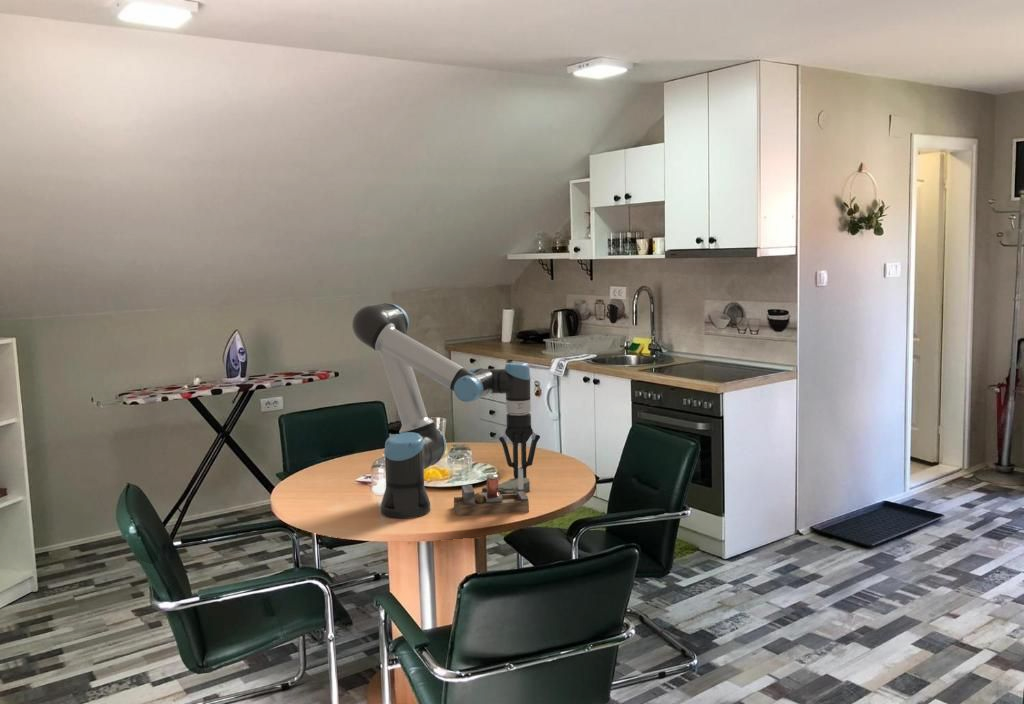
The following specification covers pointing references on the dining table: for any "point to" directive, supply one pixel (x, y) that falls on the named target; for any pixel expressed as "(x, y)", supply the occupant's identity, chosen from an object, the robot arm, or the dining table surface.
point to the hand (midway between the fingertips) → (520, 488)
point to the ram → (492, 490)
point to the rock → (511, 486)
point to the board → (489, 504)
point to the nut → (479, 498)
